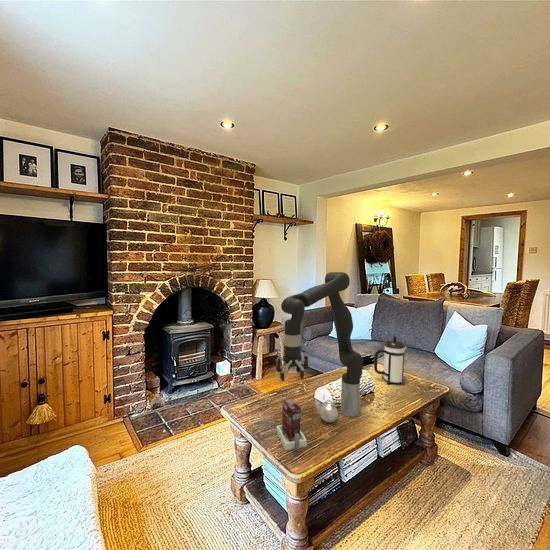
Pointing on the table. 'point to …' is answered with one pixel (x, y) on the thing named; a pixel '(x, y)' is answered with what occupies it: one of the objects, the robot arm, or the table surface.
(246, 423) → the table surface
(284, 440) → the holder caddy
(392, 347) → the coffee press
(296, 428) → the supplement box
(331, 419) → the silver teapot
